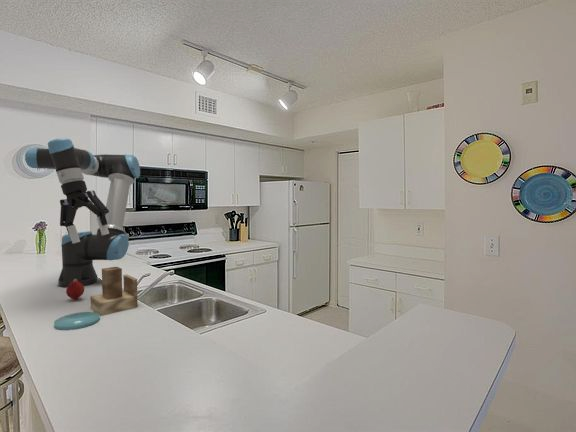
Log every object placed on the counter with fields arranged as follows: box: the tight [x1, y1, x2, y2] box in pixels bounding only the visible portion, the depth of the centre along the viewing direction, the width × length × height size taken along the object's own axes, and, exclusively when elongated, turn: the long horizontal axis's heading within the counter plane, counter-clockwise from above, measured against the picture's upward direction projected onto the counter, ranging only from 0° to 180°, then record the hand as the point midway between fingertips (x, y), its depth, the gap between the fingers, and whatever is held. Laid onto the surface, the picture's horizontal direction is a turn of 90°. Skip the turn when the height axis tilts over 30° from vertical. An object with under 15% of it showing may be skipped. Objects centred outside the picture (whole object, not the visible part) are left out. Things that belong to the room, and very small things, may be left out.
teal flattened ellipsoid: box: [53, 311, 101, 331], centre depth 103 cm, size 12×12×1 cm
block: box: [101, 266, 123, 300], centre depth 117 cm, size 5×5×10 cm
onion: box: [65, 279, 85, 301], centre depth 126 cm, size 6×6×8 cm
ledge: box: [90, 274, 139, 316], centre depth 117 cm, size 12×11×10 cm
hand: (90, 238), depth 120 cm, fingers open, 13 cm apart
